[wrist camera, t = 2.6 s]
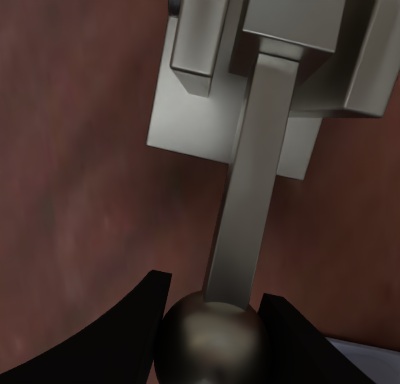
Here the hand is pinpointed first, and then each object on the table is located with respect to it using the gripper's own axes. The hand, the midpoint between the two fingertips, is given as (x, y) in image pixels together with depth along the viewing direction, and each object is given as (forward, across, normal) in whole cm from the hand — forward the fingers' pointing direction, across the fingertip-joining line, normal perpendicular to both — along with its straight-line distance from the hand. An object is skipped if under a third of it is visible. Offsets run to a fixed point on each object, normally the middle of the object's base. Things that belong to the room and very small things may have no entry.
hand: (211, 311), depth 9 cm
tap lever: (+1, 0, -4) cm, 4 cm away
